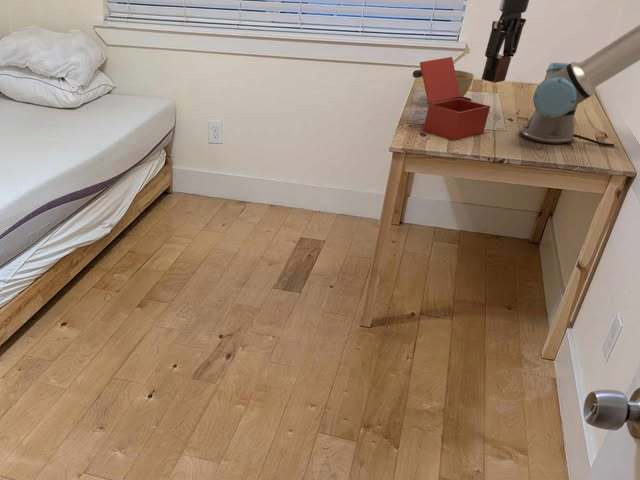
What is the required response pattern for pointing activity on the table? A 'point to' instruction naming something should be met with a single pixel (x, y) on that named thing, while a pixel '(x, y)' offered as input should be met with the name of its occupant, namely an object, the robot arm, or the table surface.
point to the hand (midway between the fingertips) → (493, 79)
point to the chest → (456, 118)
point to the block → (499, 68)
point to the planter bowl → (462, 82)
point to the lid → (438, 79)
